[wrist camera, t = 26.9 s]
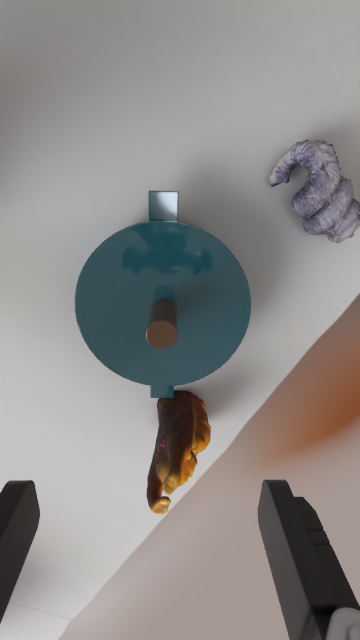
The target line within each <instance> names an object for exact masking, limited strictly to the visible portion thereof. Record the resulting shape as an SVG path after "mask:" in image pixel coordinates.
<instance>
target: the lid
mask: <svg viewBox="0 0 360 640" xmlns="http://www.w3.org/2000/svg"><path fill="white" fill-rule="evenodd" d="M250 312H251V298H250V290H249V286H248V282H247V279H246V276H245V274H244V271H243V269H242V267H241V266H240V264H239V262H238V260H237V259H236V258H235V256H234V255H233V254H232V253H231V251H230V250H229V249H228V248H227V247H226V246H225V245H224V244H223V243H222V242H220V241H219V240H218V239H216V238H215V237H214V236H212V235H211V234H209V233H207V232H205V231H204V230H202V229H200V228H197V227H195V226H192V225H189V224H185V223H181V222H176V221H166V220H161V221H148V222H143V223H138V224H135V225H132V226H129V227H127V228H125V229H123V230H121V231H118V232H116V233H115V234H113V235H112V236H111V237H109V238H108V239H106V240H105V241H104V242H103V243H102V244H101V245H99V246H98V247H97V248H96V249H95V251H94V252H93V253H92V254H91V256H90V257H89V258H88V260H87V262H86V263H85V265H84V267H83V269H82V271H81V273H80V276H79V278H78V282H77V286H76V292H75V313H76V319H77V323H78V326H79V329H80V332H81V334H82V337H83V339H84V341H85V343H86V344H87V346H88V347H89V349H90V350H91V351H92V353H93V354H94V355H95V356H96V357H97V359H98V360H100V361H101V362H102V363H103V364H104V365H105V366H106V367H108V368H109V369H110V370H112V371H113V372H115V373H116V374H118V375H120V376H122V377H124V378H126V379H129V380H131V381H134V382H137V383H141V384H145V385H151V386H177V385H183V384H187V383H190V382H194V381H196V380H199V379H201V378H204V377H205V376H207V375H209V374H211V373H213V372H214V371H215V370H217V369H218V368H220V367H221V366H222V365H223V364H224V363H225V362H226V361H228V360H229V358H230V357H231V356H232V355H233V354H234V353H235V351H236V350H237V348H238V347H239V345H240V344H241V342H242V340H243V337H244V335H245V333H246V330H247V327H248V324H249V319H250Z"/></svg>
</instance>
